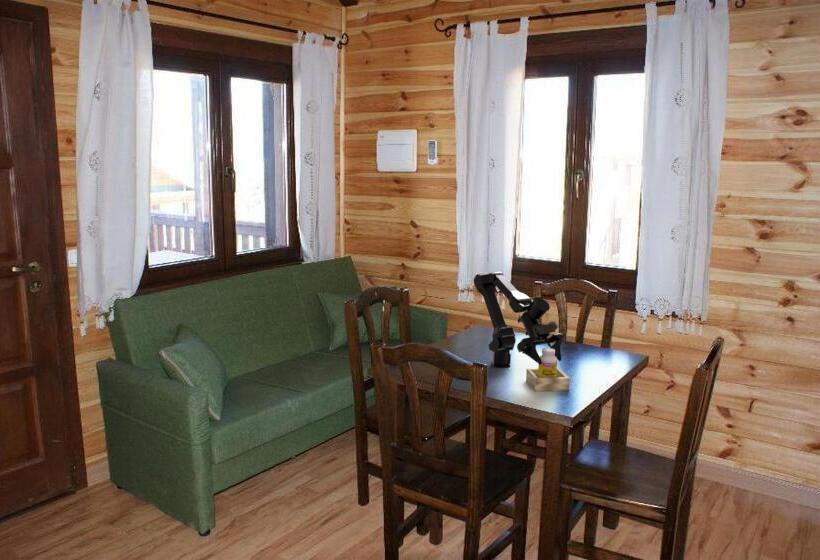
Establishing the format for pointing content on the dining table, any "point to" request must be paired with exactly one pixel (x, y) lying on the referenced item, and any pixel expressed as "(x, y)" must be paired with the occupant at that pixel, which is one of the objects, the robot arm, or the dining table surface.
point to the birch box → (548, 381)
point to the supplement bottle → (547, 364)
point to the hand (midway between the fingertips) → (550, 362)
